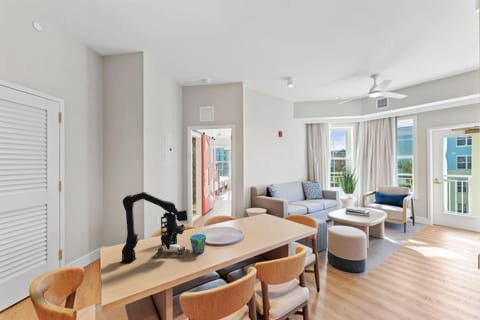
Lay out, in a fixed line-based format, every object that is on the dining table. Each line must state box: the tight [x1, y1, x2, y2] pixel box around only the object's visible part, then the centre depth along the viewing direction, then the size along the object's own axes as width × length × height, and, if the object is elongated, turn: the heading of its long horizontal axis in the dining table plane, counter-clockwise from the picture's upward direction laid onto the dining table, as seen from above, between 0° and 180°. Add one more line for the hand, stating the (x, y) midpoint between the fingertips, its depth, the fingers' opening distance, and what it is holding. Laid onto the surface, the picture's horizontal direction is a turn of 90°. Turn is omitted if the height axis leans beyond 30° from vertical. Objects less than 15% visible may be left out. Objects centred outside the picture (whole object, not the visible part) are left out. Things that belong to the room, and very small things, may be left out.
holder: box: [160, 215, 178, 246], centre depth 158 cm, size 11×8×20 cm
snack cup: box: [189, 233, 207, 255], centre depth 141 cm, size 16×10×10 cm
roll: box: [163, 244, 180, 252], centre depth 139 cm, size 10×4×4 cm, turn 86°
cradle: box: [152, 245, 190, 259], centre depth 139 cm, size 20×11×4 cm, turn 86°
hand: (171, 246), depth 139 cm, fingers open, 9 cm apart
